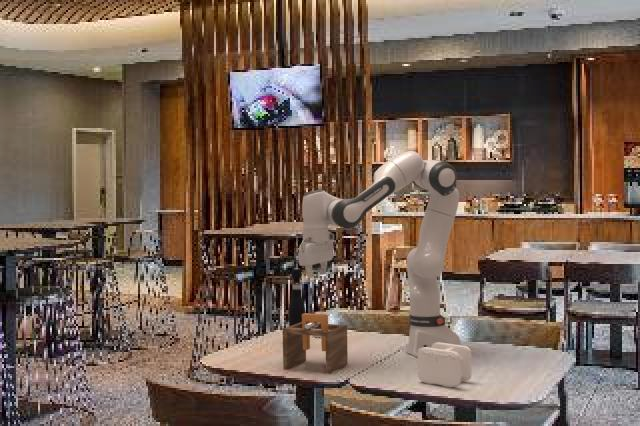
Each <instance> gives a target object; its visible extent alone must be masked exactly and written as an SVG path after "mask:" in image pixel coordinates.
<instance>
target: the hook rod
mask: <svg viewBox="0 0 640 426" xmlns="http://www.w3.org/2000/svg"><path fill="white" fill-rule="evenodd" d="M320 325H321V322H309V323H308V324H306V325H304V329H305V330H309V329H312V328H314V327H317V326H320Z"/></svg>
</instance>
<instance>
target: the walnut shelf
mask: <svg viewBox="0 0 640 426" xmlns="http://www.w3.org/2000/svg"><path fill="white" fill-rule="evenodd" d="M316 329H321V325H320V326H317V327H314V328H312V329H309V330H305V329H303V328H302V322H300V323H297V324H295V325H292V326H289V325H288V326H286V327H283V328H282V363H283V364H282V366H283V370H289V369H290V368H293V367H296V366H297V365H300V364H303V363H305V362H306V361H307V350H303V338H302V335H310V336H324V337H325V342H326V351H325V374H327V373H328V374H329V375H331V374H333V373H334V371H335V372H337V371H338V369H339V370H340V368H341V369H342V367H343V368H344V366H345V367H346V365H347V366H348V364H349V363H348V361H349V359H348V356H349V355H348V354H349V353H348V325H345V324H332V323H328V330H316ZM304 361H305V362H304ZM295 365H296V366H295ZM336 370H337V371H336ZM332 372H333V373H332Z"/></svg>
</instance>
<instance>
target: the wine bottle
mask: <svg viewBox="0 0 640 426" xmlns="http://www.w3.org/2000/svg"><path fill="white" fill-rule="evenodd" d="M290 271H291V279H293V280H292V281H293V282H292V283H293V284H292V289H291V299H290V301H289V305H288V327H289V326H292V325H295V324H297V323H300V322H302V314H304V313H306V306H305V302H304V299H303V296H302V293H303V292H302V286H301V284H300V283H301V282H300V279H302V269H301V268H292V269H291V270H290Z"/></svg>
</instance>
